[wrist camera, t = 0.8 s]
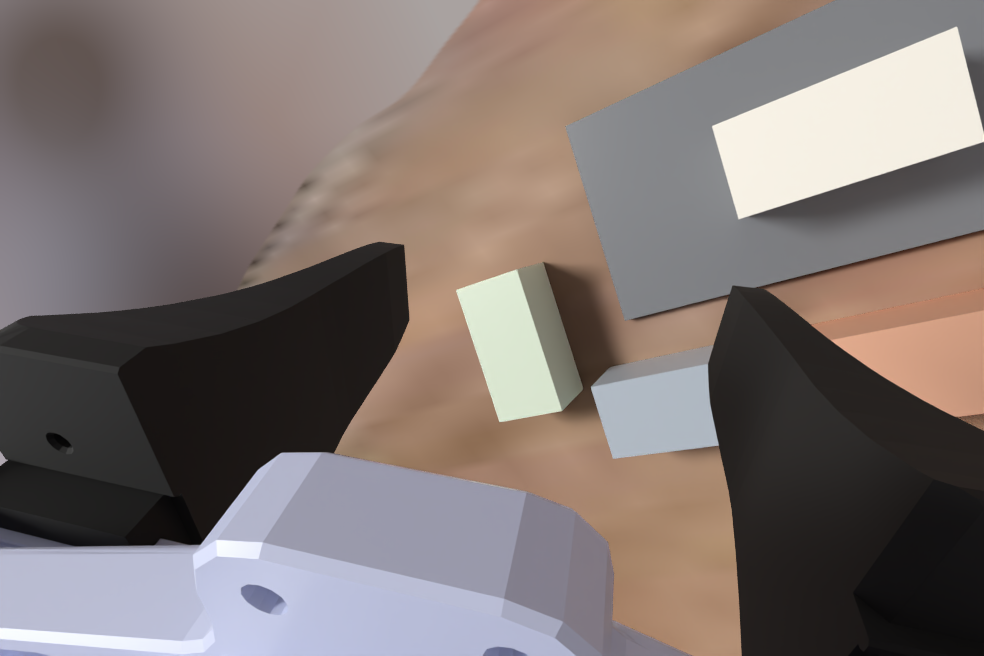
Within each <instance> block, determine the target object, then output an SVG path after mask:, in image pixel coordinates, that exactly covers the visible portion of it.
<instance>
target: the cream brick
mask: <svg viewBox="0 0 984 656" xmlns="http://www.w3.org/2000/svg"><path fill="white" fill-rule="evenodd" d="M712 129H713V132H714V135H715V139H716V142H717V146H718V149H719V153H720V156H721V160H722V163H723V167H724V170H725V174H726V177H727V181H728V184H729V188H730V191H731V195H732V198H733V202H734V205H735V208H736V212H737V215H738V219H741V218H745V217H748V216H751V215H754V214H757V213H760V212H764V211H767V210H770V209H773V208H776V207H779V206H783V205H786V204H789V203H792V202H795V201H798V200H801V199H805V198H808V197H811V196H814V195H817V194H820V193H824V192H827V191H830V190H833V189H836V188H839V187H843V186H846V185H849V184H852V183H855V182H858V181H862V180H865V179H868V178H871V177H874V176H877V175H880V174H884V173H887V172H890V171H893V170H896V169H899V168H903V167H906V166H909V165H912V164H915V163H918V162H922V161H925V160H928V159H931V158H934V157H937V156H941V155H944V154H947V153H950V152H953V151H956V150H960V149H963V148H966V147H969V146H972V145H975V144H978V143H982V142H984V131H983V127H982V123H981V119H980V115H979V111H978V107H977V104H976V100H975V96H974V92H973V88H972V84H971V80H970V76H969V72H968V68H967V64H966V60H965V56H964V52H963V48H962V44H961V40H960V36H959V32H958V28H957V27H954V28H952V29H950V30H947V31H945V32H942V33H940V34H937V35H935V36H932V37H930V38H927V39H925V40H922V41H920V42H918V43H915V44H913V45H910V46H908V47H905V48H903V49H900V50H898V51H895V52H893V53H891V54H888V55H886V56H883V57H881V58H878V59H876V60H873V61H871V62H868V63H866V64H863V65H861V66H859V67H856V68H854V69H851V70H849V71H846V72H844V73H841V74H839V75H836V76H834V77H831V78H829V79H827V80H824V81H822V82H819V83H817V84H814V85H812V86H809V87H807V88H804V89H802V90H800V91H797V92H795V93H792V94H790V95H787V96H785V97H782V98H780V99H777V100H775V101H772V102H770V103H768V104H765V105H763V106H760V107H758V108H755V109H753V110H750V111H748V112H745V113H743V114H740V115H738V116H736V117H733V118H731V119H728V120H726V121H723V122H721V123H718V124H716V125H713V126H712Z"/></svg>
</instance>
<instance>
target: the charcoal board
mask: <svg viewBox="0 0 984 656" xmlns="http://www.w3.org/2000/svg"><path fill="white" fill-rule="evenodd" d="M954 27H957V28H958V32H959V36H960V40H961V44H962V48H963V52H964V56H965V60H966V64H967V68H968V72H969V76H970V80H971V84H972V88H973V92H974V96H975V100H976V104H977V107H978V111H979V115H980V119H981V123H982V127H983V131H984V0H835V1H833V2H831V3H829V4H826V5H824V6H822V7H820V8H818V9H816V10H814V11H811V12H809V13H807V14H805V15H803V16H801V17H799V18H797V19H794V20H792V21H790V22H788V23H786V24H784V25H782V26H779V27H777V28H775V29H773V30H771V31H769V32H767V33H764V34H762V35H760V36H758V37H756V38H754V39H752V40H749V41H747V42H745V43H743V44H741V45H739V46H737V47H734V48H732V49H730V50H728V51H726V52H724V53H722V54H719V55H717V56H715V57H713V58H711V59H709V60H707V61H704V62H702V63H700V64H698V65H696V66H694V67H692V68H689V69H687V70H685V71H683V72H681V73H679V74H677V75H674V76H672V77H670V78H668V79H666V80H664V81H662V82H659V83H657V84H655V85H653V86H651V87H649V88H647V89H644V90H642V91H640V92H638V93H636V94H634V95H632V96H629V97H627V98H625V99H623V100H621V101H619V102H617V103H615V104H612V105H610V106H608V107H606V108H604V109H602V110H600V111H597V112H595V113H593V114H591V115H589V116H587V117H585V118H582V119H580V120H578V121H576V122H574V123H572V124H570V125H567V126H565V127H566V130H567V134H568V137H569V140H570V143H571V147H572V150H573V153H574V156H575V160H576V163H577V166H578V169H579V173H580V176H581V179H582V182H583V186H584V189H585V192H586V195H587V199H588V202H589V205H590V208H591V212H592V215H593V218H594V222H595V225H596V228H597V231H598V235H599V238H600V241H601V244H602V248H603V251H604V254H605V257H606V261H607V264H608V267H609V270H610V274H611V277H612V280H613V283H614V287H615V290H616V293H617V296H618V300H619V303H620V306H621V309H622V313H623V316H624V319H625V320H629V319H633V318H637V317H641V316H645V315H649V314H653V313H657V312H661V311H665V310H669V309H673V308H677V307H681V306H685V305H688V304H692V303H696V302H700V301H704V300H708V299H712V298H716V297H720V296H724V295H728V294H730V292H731V288H732V285H735V286H743V287H751V288H756V287H759V286H763V285H767V284H771V283H775V282H779V281H783V280H787V279H791V278H795V277H799V276H803V275H807V274H811V273H815V272H819V271H823V270H826V269H830V268H834V267H838V266H842V265H846V264H850V263H854V262H858V261H862V260H866V259H870V258H874V257H878V256H882V255H886V254H890V253H894V252H897V251H901V250H905V249H909V248H913V247H917V246H921V245H925V244H929V243H933V242H937V241H941V240H945V239H949V238H953V237H957V236H961V235H965V234H968V233H972V232H976V231H980V230H984V142H982V143H978V144H975V145H972V146H969V147H966V148H963V149H960V150H956V151H953V152H950V153H947V154H944V155H941V156H937V157H934V158H931V159H928V160H925V161H922V162H918V163H915V164H912V165H909V166H906V167H903V168H899V169H896V170H893V171H890V172H887V173H884V174H880V175H877V176H874V177H871V178H868V179H865V180H862V181H858V182H855V183H852V184H849V185H846V186H843V187H839V188H836V189H833V190H830V191H827V192H824V193H820V194H817V195H814V196H811V197H808V198H805V199H801V200H798V201H795V202H792V203H789V204H786V205H783V206H779V207H776V208H773V209H770V210H767V211H764V212H760V213H757V214H754V215H751V216H748V217H745V218H741V219H738V215H737V212H736V208H735V205H734V202H733V198H732V195H731V191H730V188H729V184H728V181H727V177H726V174H725V170H724V167H723V163H722V160H721V156H720V153H719V149H718V146H717V142H716V139H715V135H714V132H713V129H712V126H713V125H716V124H718V123H721V122H723V121H726V120H728V119H731V118H733V117H736V116H738V115H740V114H743V113H745V112H748V111H750V110H753V109H755V108H758V107H760V106H763V105H765V104H768V103H770V102H772V101H775V100H777V99H780V98H782V97H785V96H787V95H790V94H792V93H795V92H797V91H800V90H802V89H804V88H807V87H809V86H812V85H814V84H817V83H819V82H822V81H824V80H827V79H829V78H831V77H834V76H836V75H839V74H841V73H844V72H846V71H849V70H851V69H854V68H856V67H859V66H861V65H863V64H866V63H868V62H871V61H873V60H876V59H878V58H881V57H883V56H886V55H888V54H891V53H893V52H895V51H898V50H900V49H903V48H905V47H908V46H910V45H913V44H915V43H918V42H920V41H922V40H925V39H927V38H930V37H932V36H935V35H937V34H940V33H942V32H945V31H947V30H950V29H952V28H954Z"/></svg>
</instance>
